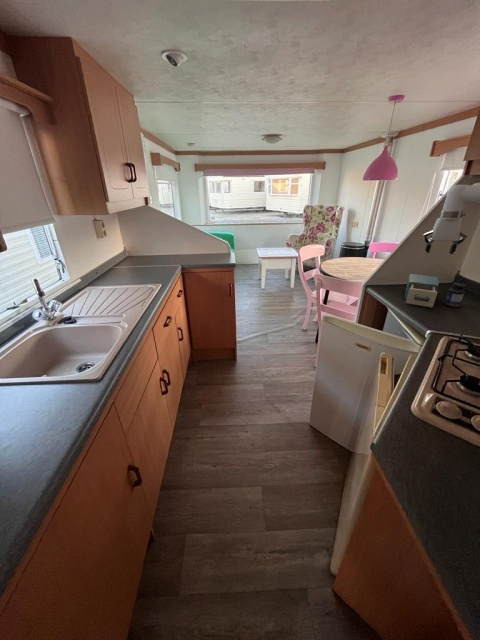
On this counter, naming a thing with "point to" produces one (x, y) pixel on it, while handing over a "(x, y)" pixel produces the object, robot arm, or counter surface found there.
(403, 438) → the counter surface
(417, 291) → the drawer
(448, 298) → the pill bottle
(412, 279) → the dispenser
